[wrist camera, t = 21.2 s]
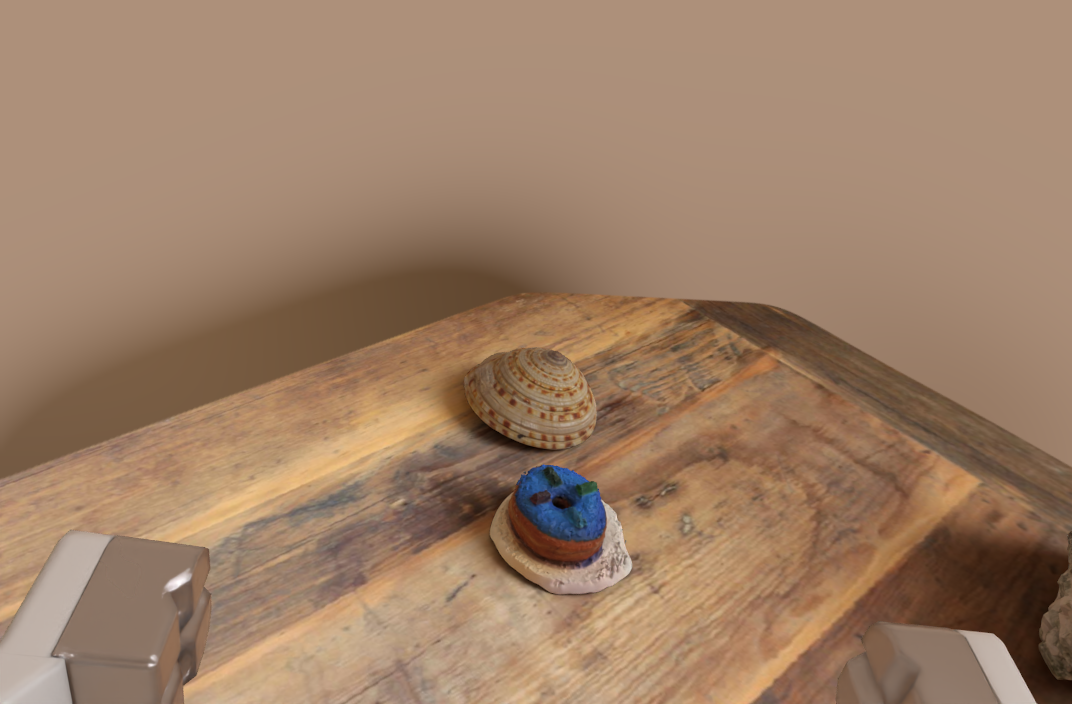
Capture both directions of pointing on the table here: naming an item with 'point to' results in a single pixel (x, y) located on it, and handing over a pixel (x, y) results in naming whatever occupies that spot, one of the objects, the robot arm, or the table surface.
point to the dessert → (560, 533)
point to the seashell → (533, 398)
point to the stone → (1059, 627)
